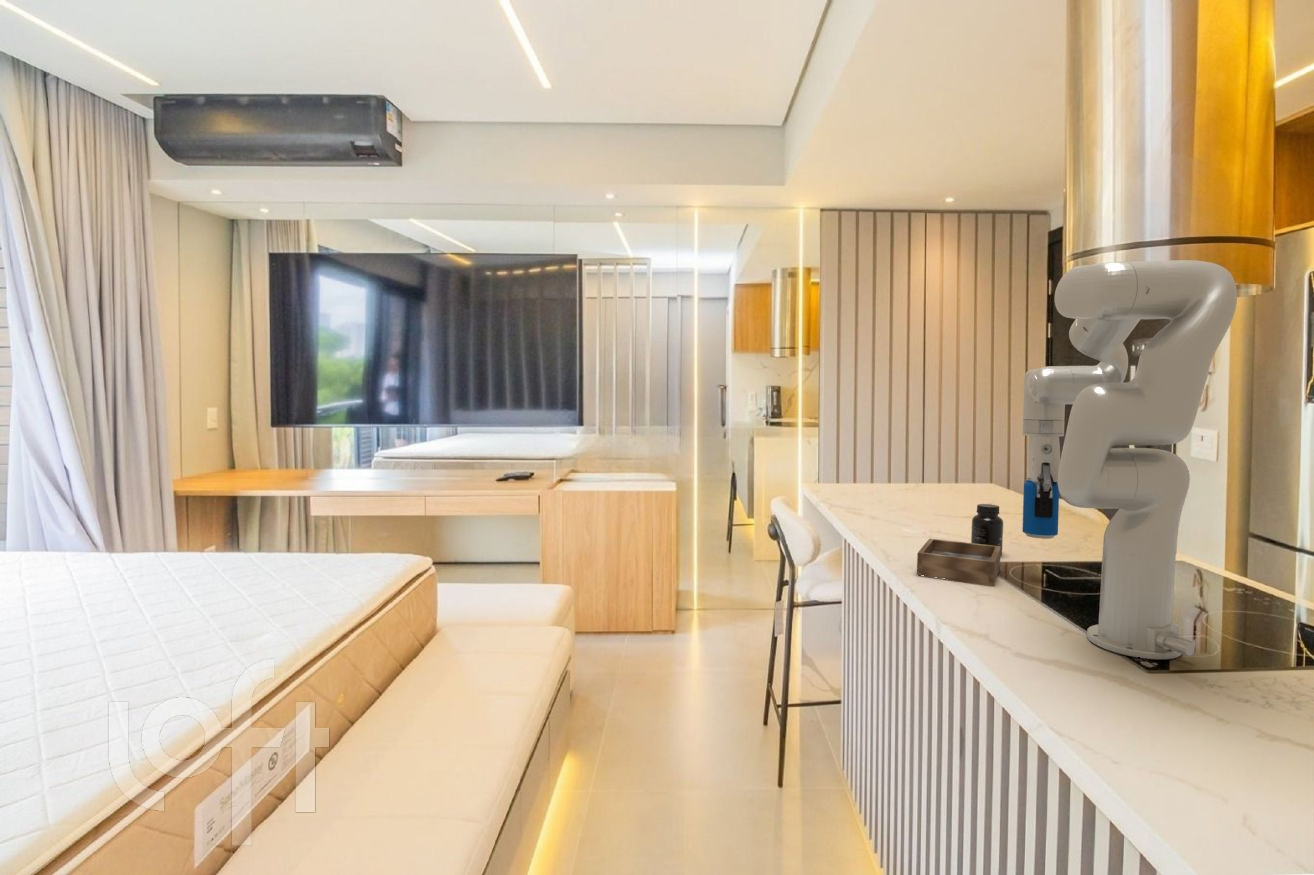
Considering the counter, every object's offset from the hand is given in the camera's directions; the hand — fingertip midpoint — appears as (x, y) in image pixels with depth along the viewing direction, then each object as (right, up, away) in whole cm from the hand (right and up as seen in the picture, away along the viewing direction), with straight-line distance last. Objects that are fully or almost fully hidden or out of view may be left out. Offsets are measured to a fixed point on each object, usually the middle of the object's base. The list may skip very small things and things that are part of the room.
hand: (1040, 513), depth 144 cm
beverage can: (0, -5, 0) cm, 5 cm away
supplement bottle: (-1, -12, +22) cm, 25 cm away
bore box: (-14, -14, +8) cm, 21 cm away
